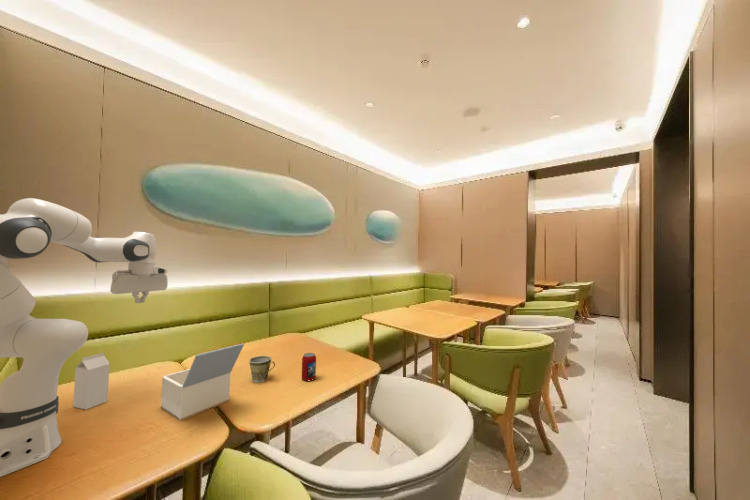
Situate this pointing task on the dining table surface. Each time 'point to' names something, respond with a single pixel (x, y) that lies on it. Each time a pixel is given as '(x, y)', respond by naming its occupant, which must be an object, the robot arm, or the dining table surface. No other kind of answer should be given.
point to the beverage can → (308, 366)
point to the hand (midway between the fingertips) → (140, 302)
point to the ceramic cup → (260, 368)
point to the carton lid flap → (212, 364)
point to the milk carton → (91, 382)
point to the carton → (192, 394)
